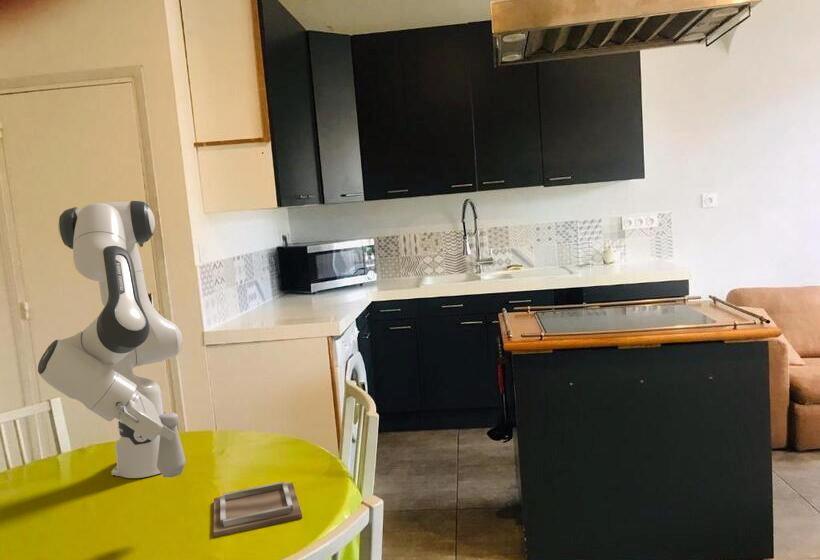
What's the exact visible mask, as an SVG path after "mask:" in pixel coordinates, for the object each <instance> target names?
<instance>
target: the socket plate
mask: <svg viewBox="0 0 820 560" xmlns="http://www.w3.org/2000/svg"><path fill="white" fill-rule="evenodd" d="M301 519H303V513H302V511H301V506H300V502H299V500H298V497H297V494H296V489H295V487H294V483H293V481H292V482H285V481H281V482H280V481H279V482H274V483H270V484H264V485H261V486H254V487H250V488H249V487H248V488H245V489H240V490H235V491H231V492H224V493H222V495H220V496H218V497H214V498H213V537H214V538H216V537H217V538H218V537H220V536H226V535H231V534H236V533H240V532H239V531H241V532H245V531H250V530H254V529H258V528H259V529H260V528H263V527H267V526H268V527H269V526H272V525H277V524H282V523H286V522H290V521H296V520H301ZM253 528H254V529H253ZM249 529H250V530H249ZM244 530H245V531H244ZM235 532H236V533H235Z"/></svg>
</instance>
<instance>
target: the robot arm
mask: <svg viewBox="0 0 820 560" xmlns="http://www.w3.org/2000/svg"><path fill="white" fill-rule="evenodd" d="M57 225H58V226H57V229H58V230H57V231H58V234H59V237H60V238H61V240H62V242H63V244H64V245H65V246H66V247H68V248H69V249H71V250H72V256H73V257H72V258H73V262H74V267H75V269H76V271H77V272H78V273H79V274H80V275H82V276H83V277H84V278H87V280H91V281H95V282H98V284H99V285H98V287H99V292H100V299H101V303H102V305H103V306H104V307H103V308H102V310H101V312H100V313H99V314H98V315H97V317H95V318H94V320H93V321H92V322H90V324H89V325H87V326H86V327H85V328H84V330H82V331H80V332H78V333H76V334H74V335H71V336H70V337H67V338H63V339H55V340H54V341H53V342H51V343H50V344H49V345H48V347H47V348H46V349H45V351H44V353H43V354H42V355H41V357H40V359H39V362H38V364H37V365H38V366H37V373H38V374H39V376H40V377H41V378H42V380H43V381H44V382H45V383H47V385H50V387H52V388H54V389H55V390H56V391H58V392H60V393H61V394H62V395H64V396H66V397H68V398H70V399H72V400H76V401H79V402H80V403H81V404H82V405H83V406H84V407H85V408H86V409H88V410H90V411H91V412H92V413H94V414H95V415H97V416H99V417H101V418H102V419H104V420H106V421H107V422H112V421H113V420H114V419H117V420H118V423H117V424H118V426H117V427H118V428H117V429H118V431H119V436H120V437H119V439H118V440H117V441H116V443H115V446H114V448H115V456H116V466H115V467H113V469H112V470H111V471H110V472H111V476H113V475H115V477H121V478H126V479H141V478H142V479H143V478H146V477H147V478H148V477H151V476H155V475H158V474H161V472H160V471H159V470H158V468H157V460H158V452H159V442H160V436H163V437H165V438H167V439H169V440H173V438H174V437H175V436H176V433H175V431H173V430H172V429H170V428H167V427H166V426H164V425H163V424H162V423H161V420H160V418H159V415H161V414H164V413H166V412H165V411H164V405H163V398H162V397H163V396H162V390H161V387H160V385H159V384H158V383H157V382H156V381H154V380H152V379H149V378H146V377H142V376H137V375H136V374H134V371H133V369H134V368H136V367H141V366H145V365H152V364H155V363H161V362H164V361H167V360H169V359H172V358H174V357H176V356H178V355H179V353H180V352H181V350H182V347H183V342H184V339H183V338H184V337H183V333H182V332H181V329H180V328H179V327H178V325H177V324H175V323H174V322H173V321H171V320H169V319H167V318H166V317H164V316H162V315H161V314H160V313H159V312H158V311H157V310H156V309H155V306H153V304H152V302H151V300H150V297H149V293H148V290H147V285H146V279H145V275H144V268H143V267H144V266H143V262H142V258H141V254H140V251H139V248H138V245H139V247H140V248H142V247H143V246H144V243H146V242H148V241H149V240H150V239H151V238H152V237H153V235H154V231H155V228H156V219H155V215H154V213H153V211H152V210H151V207H150V206H149V204H148V203H146V202H145V201H142V200H141V201H140V200H131V201H107V202H93V203H90V204H87V205H85V206H81V207H77V206H73V207H71V208H68V209H65V210H63V212H62V213H61V214H60V215H59V218H58V224H57ZM137 243H138V245H137Z"/></svg>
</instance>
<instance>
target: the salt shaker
mask: <svg viewBox="0 0 820 560" xmlns="http://www.w3.org/2000/svg"><path fill="white" fill-rule="evenodd" d="M159 418H160V420H161V423H162V424H163V425H164V426H166V427H167V428H170V429H172V430H173V431H175V433H176V436H175V437H174V438H173V440H169V439H167V438H165V437H163V436H160V442H159V452H158V460H157V468H158V470H159V471H160V472H161V473H160V474H161V475H162V477H163V478H175V477H178V476H181V475H182V473H183V471H184V470H185V469H184V468H185V466H186V462H187V460H186V457H185V452H184V448H183V444H182V441H181V436H180V432H179V429H178V424H179V423H180V418H179V414H178V413H176V412H165V413H164V414H161V415H159Z"/></svg>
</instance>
